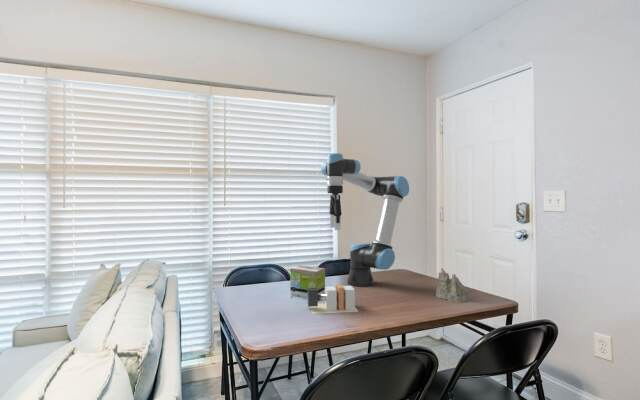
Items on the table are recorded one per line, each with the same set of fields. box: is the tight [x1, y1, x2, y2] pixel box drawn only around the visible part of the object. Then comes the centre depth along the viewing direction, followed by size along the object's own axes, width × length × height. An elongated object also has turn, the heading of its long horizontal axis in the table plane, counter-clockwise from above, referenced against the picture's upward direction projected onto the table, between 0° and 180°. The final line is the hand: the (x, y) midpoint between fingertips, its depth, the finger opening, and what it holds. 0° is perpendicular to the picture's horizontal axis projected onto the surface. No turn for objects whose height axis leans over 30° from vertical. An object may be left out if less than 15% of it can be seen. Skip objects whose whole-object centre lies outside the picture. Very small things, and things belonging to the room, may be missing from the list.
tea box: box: [289, 265, 326, 298], centre depth 178 cm, size 15×10×15 cm, turn 62°
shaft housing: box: [309, 285, 359, 315], centre depth 156 cm, size 20×14×10 cm
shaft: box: [307, 288, 345, 308], centre depth 156 cm, size 18×4×7 cm, turn 97°
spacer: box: [335, 283, 344, 310], centre depth 157 cm, size 2×8×10 cm, turn 7°
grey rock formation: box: [435, 267, 468, 303], centre depth 179 cm, size 16×16×15 cm
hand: (335, 228), depth 173 cm, fingers open, 13 cm apart
